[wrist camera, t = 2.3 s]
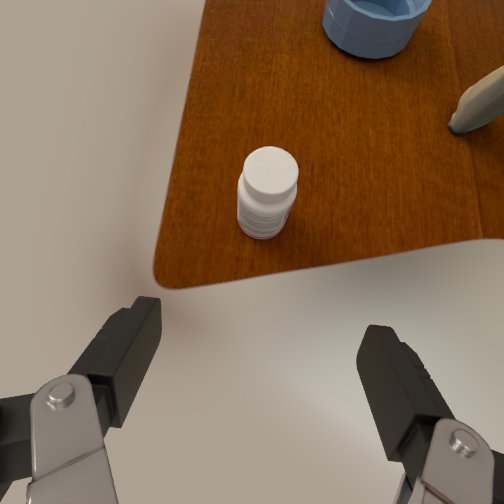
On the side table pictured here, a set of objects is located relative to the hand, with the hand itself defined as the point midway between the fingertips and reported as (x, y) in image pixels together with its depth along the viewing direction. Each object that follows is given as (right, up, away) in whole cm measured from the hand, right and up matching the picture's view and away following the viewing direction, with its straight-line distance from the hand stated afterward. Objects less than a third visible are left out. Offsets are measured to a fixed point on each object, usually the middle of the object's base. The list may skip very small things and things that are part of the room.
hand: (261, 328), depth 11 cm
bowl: (+14, +31, +26) cm, 43 cm away
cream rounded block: (+24, +17, +22) cm, 37 cm away
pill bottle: (+1, +6, +18) cm, 19 cm away
